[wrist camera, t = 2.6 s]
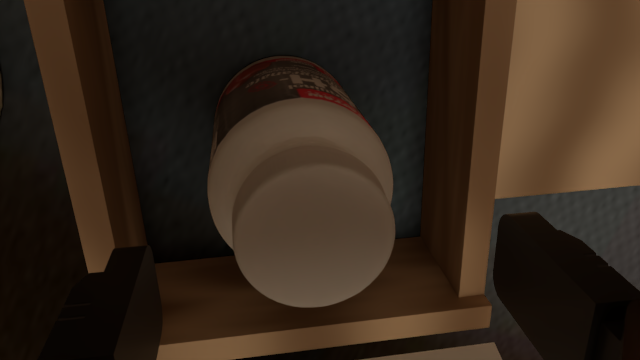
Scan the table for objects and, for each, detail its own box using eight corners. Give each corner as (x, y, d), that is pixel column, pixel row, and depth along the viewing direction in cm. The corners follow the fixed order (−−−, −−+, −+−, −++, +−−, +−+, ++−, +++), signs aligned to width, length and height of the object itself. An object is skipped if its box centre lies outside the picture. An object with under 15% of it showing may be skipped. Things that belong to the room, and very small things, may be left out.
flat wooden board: (465, 193, 25) (472, 200, 24) (486, -49, 20) (496, -49, 20) (630, 177, 26) (641, 184, 25) (681, -56, 21) (697, -56, 21)
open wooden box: (130, 286, 24) (105, 375, 19) (59, -66, 18) (-4, -68, 13) (439, 253, 26) (489, 327, 21) (463, -78, 20) (538, -83, 15)
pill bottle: (341, 42, 21) (421, 118, 12) (354, 170, 23) (430, 312, 14) (200, 64, 21) (177, 159, 12) (228, 192, 23) (226, 352, 14)
